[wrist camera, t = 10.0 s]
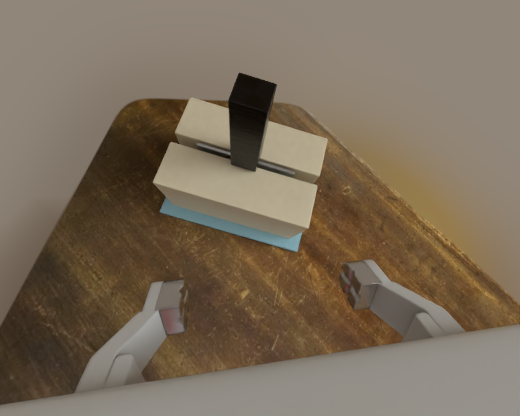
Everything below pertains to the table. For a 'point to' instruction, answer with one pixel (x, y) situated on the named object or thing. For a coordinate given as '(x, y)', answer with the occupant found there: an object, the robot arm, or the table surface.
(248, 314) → the table surface
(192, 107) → the slide lever switch
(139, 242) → the table surface
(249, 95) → the slider knob post
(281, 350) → the table surface
